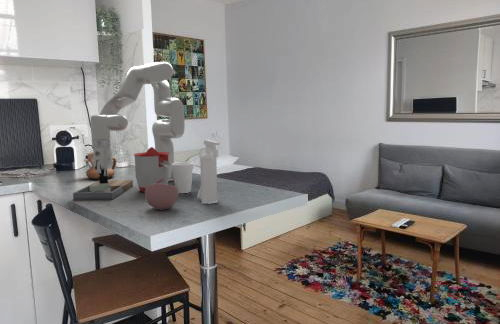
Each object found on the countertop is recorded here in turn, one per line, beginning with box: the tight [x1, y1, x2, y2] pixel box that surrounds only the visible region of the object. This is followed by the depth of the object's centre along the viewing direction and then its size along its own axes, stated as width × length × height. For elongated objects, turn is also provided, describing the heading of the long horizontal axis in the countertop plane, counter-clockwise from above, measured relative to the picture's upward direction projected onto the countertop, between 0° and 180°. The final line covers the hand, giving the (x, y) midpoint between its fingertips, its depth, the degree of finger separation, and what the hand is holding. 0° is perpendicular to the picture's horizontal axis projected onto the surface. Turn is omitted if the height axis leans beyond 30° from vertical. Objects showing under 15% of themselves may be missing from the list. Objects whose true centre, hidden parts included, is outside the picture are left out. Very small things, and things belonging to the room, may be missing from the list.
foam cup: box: [171, 161, 194, 194], centre depth 167 cm, size 10×9×13 cm
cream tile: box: [91, 187, 111, 192], centre depth 164 cm, size 6×6×2 cm
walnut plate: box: [86, 179, 134, 194], centre depth 175 cm, size 16×14×3 cm
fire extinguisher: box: [196, 139, 221, 202], centre depth 148 cm, size 7×12×25 cm, turn 46°
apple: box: [144, 178, 179, 210], centre depth 139 cm, size 12×12×11 cm
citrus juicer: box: [133, 146, 170, 193], centre depth 171 cm, size 16×17×20 cm
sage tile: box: [88, 182, 109, 191], centre depth 162 cm, size 6×6×2 cm
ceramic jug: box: [83, 151, 117, 180], centre depth 204 cm, size 18×14×14 cm
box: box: [72, 186, 124, 201], centre depth 161 cm, size 16×14×3 cm
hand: (103, 184), depth 167 cm, fingers closed
